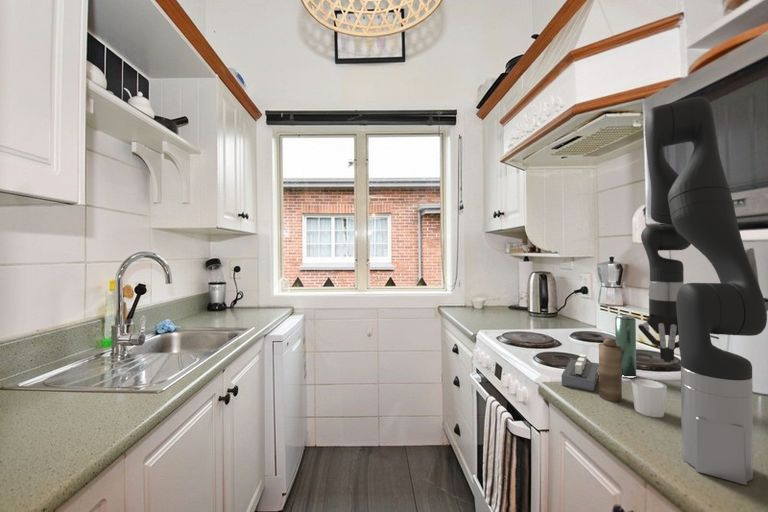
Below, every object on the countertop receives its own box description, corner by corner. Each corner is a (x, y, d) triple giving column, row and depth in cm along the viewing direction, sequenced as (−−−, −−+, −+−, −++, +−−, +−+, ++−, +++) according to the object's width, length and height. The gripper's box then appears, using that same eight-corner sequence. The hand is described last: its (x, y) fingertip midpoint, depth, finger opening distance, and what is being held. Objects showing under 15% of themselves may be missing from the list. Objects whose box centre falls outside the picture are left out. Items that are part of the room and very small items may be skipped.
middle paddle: (583, 369, 101) (583, 361, 101) (577, 368, 102) (577, 360, 102) (584, 366, 104) (584, 358, 104) (578, 365, 104) (578, 357, 104)
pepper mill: (621, 403, 86) (620, 341, 86) (598, 398, 89) (597, 338, 89) (622, 396, 90) (621, 337, 90) (600, 392, 93) (599, 335, 93)
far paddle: (585, 365, 105) (585, 356, 105) (579, 364, 106) (579, 355, 106) (586, 362, 108) (586, 354, 108) (580, 361, 108) (580, 353, 108)
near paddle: (581, 374, 97) (581, 365, 97) (575, 373, 98) (575, 364, 98) (582, 371, 100) (582, 362, 100) (576, 370, 101) (576, 361, 100)
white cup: (674, 419, 77) (674, 389, 77) (640, 417, 79) (640, 387, 79) (656, 406, 84) (656, 378, 84) (626, 404, 85) (625, 377, 85)
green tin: (636, 379, 101) (635, 318, 101) (615, 376, 104) (614, 316, 104) (636, 374, 106) (635, 315, 105) (616, 371, 109) (615, 313, 109)
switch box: (593, 391, 93) (593, 380, 93) (561, 385, 98) (561, 374, 98) (599, 372, 108) (598, 363, 108) (571, 367, 112) (570, 358, 112)
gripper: (635, 298, 91) (636, 360, 92) (702, 301, 83) (702, 370, 84) (636, 295, 97) (636, 354, 98) (697, 298, 89) (698, 362, 90)
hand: (667, 361), depth 91 cm, fingers closed
